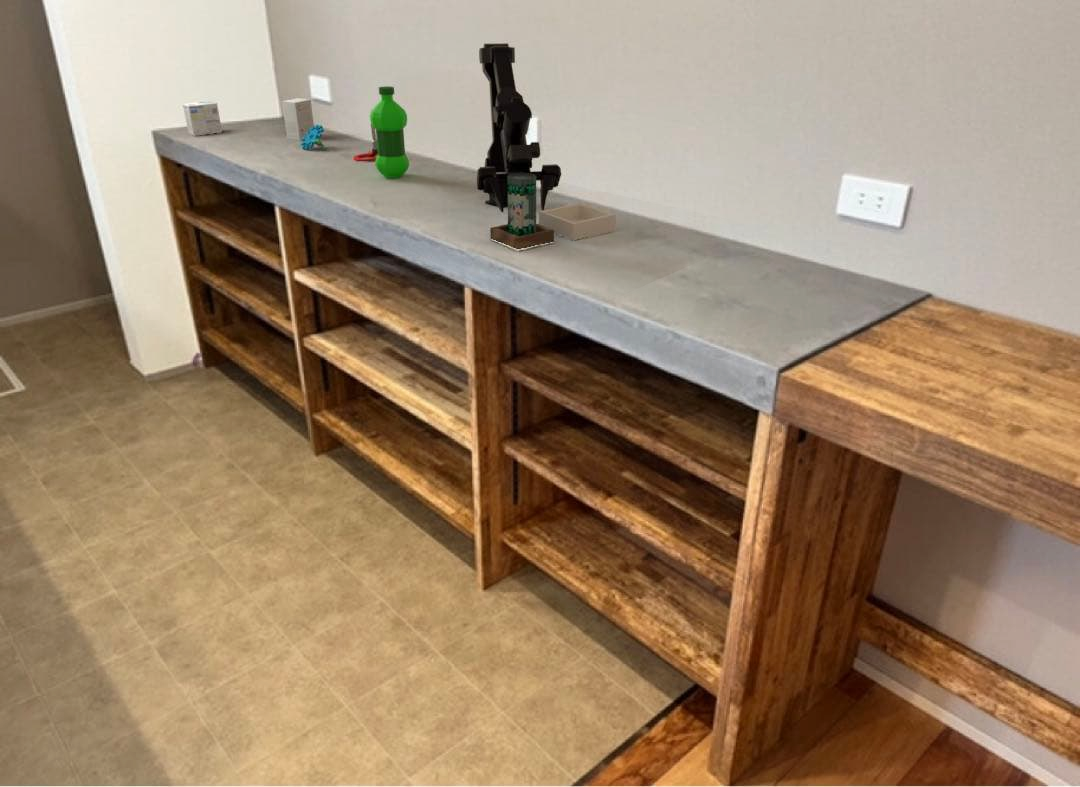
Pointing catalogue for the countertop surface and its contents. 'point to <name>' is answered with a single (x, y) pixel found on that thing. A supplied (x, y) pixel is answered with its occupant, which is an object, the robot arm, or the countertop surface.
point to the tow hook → (373, 153)
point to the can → (521, 203)
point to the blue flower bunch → (313, 138)
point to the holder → (524, 241)
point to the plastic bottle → (389, 135)
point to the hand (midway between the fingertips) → (522, 210)
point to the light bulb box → (202, 118)
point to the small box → (297, 118)
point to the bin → (578, 221)
